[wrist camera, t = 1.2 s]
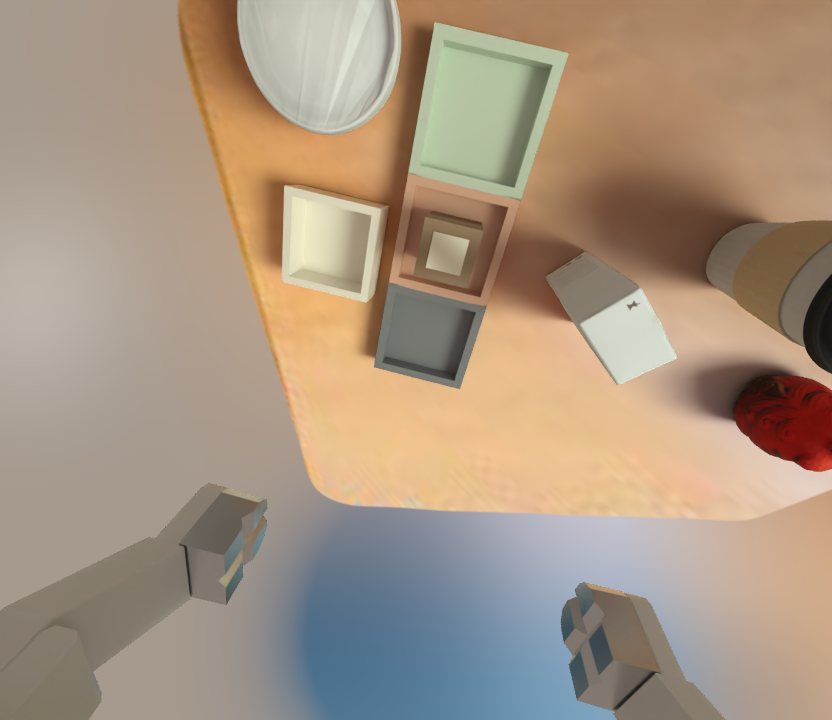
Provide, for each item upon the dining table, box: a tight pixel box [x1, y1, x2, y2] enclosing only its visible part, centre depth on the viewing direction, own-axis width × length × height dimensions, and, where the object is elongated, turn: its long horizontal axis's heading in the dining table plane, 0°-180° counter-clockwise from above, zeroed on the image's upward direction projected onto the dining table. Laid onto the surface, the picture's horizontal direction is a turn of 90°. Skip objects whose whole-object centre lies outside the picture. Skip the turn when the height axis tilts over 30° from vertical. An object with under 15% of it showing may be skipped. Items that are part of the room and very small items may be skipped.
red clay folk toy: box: [733, 375, 832, 472], centre depth 29 cm, size 8×7×15 cm
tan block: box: [413, 211, 484, 288], centre depth 30 cm, size 4×5×6 cm
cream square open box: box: [282, 185, 389, 303], centre depth 33 cm, size 8×8×4 cm
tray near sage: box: [408, 22, 569, 201], centre depth 28 cm, size 10×10×2 cm
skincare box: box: [545, 251, 677, 385], centre depth 28 cm, size 6×4×12 cm
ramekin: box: [237, 0, 401, 135], centre depth 26 cm, size 11×11×5 cm
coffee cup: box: [706, 221, 832, 374], centre depth 24 cm, size 9×9×15 cm
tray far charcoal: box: [374, 282, 486, 389], centre depth 37 cm, size 10×10×2 cm
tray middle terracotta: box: [389, 173, 521, 307], centre depth 32 cm, size 10×10×2 cm
